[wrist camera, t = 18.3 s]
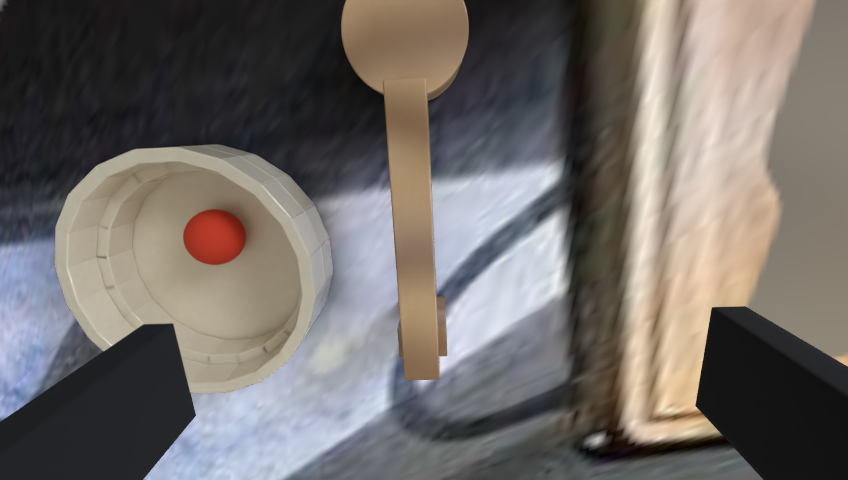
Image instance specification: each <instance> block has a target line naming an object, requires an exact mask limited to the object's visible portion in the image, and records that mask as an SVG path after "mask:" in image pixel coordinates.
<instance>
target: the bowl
mask: <svg viewBox="0 0 848 480" xmlns="http://www.w3.org/2000/svg"><path fill="white" fill-rule="evenodd" d="M211 209H218V210H223V211H227V212H229V213H231V214H233V215H234V216H236V217H237V218H238V219H239V220H240V222H241V223H242V225H243V226H244V229H245V233H246V242H245V246H244V248H243V250H242V252H241V253H240V254H239V255H238V256H237V257H236V258H235V259H233V260H232V261H230V262H228V263H225V264H220V265H209V264H205V263H202V262H199V261H198V260H196V259H195V258H193V257H192V256H191V255H190V254H189V253H188V251H187V250H186V248H185V245H184V241H183V233H184V229H185V227H186V225H187V223H188V222H189V220H190V219H191V218H192V217H193V216H195V215H196V214H198V213H200V212H202V211H206V210H211ZM55 228H56V229H55V266H56V267H55V269H56V272H57V276H58V279H59V282H60V285H61V289H62V292H63V295H64V298H65V301H66V304H67V306H68V308H69V309H70V311H71V312H72V314H73V315H74V317H75V318H76V320H77V321H78V323H79V324H80V326H81V327H82V329H83V330H84V332H85V333H86V335H87V337H88V338H89V337H90V338H89V339H90V340H91V341H92V342H93V343H95V344H96V345H97V346H98V347H99V348H100V349H101V350H102V351H103V352H104V351H105V350H107V349H108V348H109V347H111V346H112V345H114V344H115V343H117V342H118V341H120V340H121V339H123V338H124V337H126V336H127V335H129V334H130V333H131V332H133V331H134V330H136V329H137V328H139V327H140V326H142V325H143V324H167V323H173V324H174V329H175V333H176V337H177V341H178V345H179V349H180V353H181V357H182V361H183V365H184V369H185V373H186V377H187V381H188V385H189V390H190V393H227V392H231V391H234V390H237V389H240V388H243V387H246V386H250V385H253V384H256V383H259V382H261V381H263V380H264V379H266V378H267V377H268V376H270V375H271V374H272V373H274V372H275V371H276V370H278V369H279V368H280V367H282V366H283V365H284V364H286V363H287V362H288V361H289V360H290V359H291V357H292V356H293V354H294V353H295V351H296V350H297V348H298V346H299V345H300V343H301V342H302V340H303V339H304V337H305V336H306V334H307V332H308V331H309V329H310V328H311V326H312V325H313V323H314V322H315V320H316V318H317V317H318V315H319V314H320V312H321V311H322V309H323V307H324V306H325V304H326V302H327V298H328V294H329V289H330V285H331V280H332V276H333V264H332V256H331V247H330V239H329V236H328V233H327V231H326V229H325V227H324V225H323V222H322V220H321V218H320V216H319V214H318V211H317V209H316V207H315V205H314V203H313V202H312V201H311V200H310V199H309V198H308V196H307V195H306V194H305V193H304V192H303V191H302V190H301V188H300V187H299V186H298V185H297V184H296V183H295V182H294V180H293V179H292V178H291V177H290V176H289V175H288V174H286V173H284V172H283V171H281V170H280V169H278V168H276V167H275V166H273V165H272V164H270V163H269V162H267V161H265V160H264V159H262V158H261V157H259V156H257V155H255V154H252V153H248V152H245V151H241V150H237V149H234V148H230V147H227V146H223V145H218V144H214V145H194V146H176V147H160V148H144V149H134V150H131V151H129V152H126V153H124V154H122V155H119V156H117V157H115V158H112V159H110V160H108V161H105V162H103V163H101V164H98V165H97V166H96V167H94V169H93V170H92V171H91V172H90V173H89V174H88V175H87V176H86V177H85V178H84V179H83V180H82V181H81V182H80V183H79V184H78V185H77V186H76V187H75V188H74V189H73V190H72V191H71V192H70V193H69V194H68V197H67V199H66V202H65V204H64V207H63V209H62V212H61V214H60V217H59V219H58V222H57V224H56V227H55Z"/></svg>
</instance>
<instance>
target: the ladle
mask: <svg viewBox="0 0 848 480" xmlns="http://www.w3.org/2000/svg"><path fill="white" fill-rule="evenodd" d="M468 35H469V22H468V14H467V9H466V6H465V3H464V0H346V2H345V5H344V8H343V13H342V20H341V36H342V42H343V47H344V50H345V53H346V56H347V58H348V61H349V63H350V64H351V66H352V68H353V69H354V71H355V72H356V74H357V75H358V76H359V77H360V78H361V79H362V80H363V81H364V82H365V83H366V84H367V85H368V86H370V87H371V88H372V89H374V90H376V91H377V92H379V93H380V94H382V95H383V96H384V104H385V117H386V131H387V145H388V159H389V173H390V187H391V200H392V214H393V228H394V242H395V256H396V270H397V283H398V297H399V311H400V320H399V325H398V342H399V355H400V357H403V366H404V379H405V380H434V379H439V356H447V334H446V310H445V297H444V296H440V297H437V293H436V271H435V249H434V227H433V204H432V182H431V160H430V138H429V116H428V101H430V100H432V99H434V98H436V97H437V96H439V95H440V94H442V93H443V92H444V91H445V90H446V89H447V88H448V87H449V86H450V84H451V83H452V82H453V80H454V79H455V77H456V75H457V73H458V70H459V68H460V65H461V62H462V60H463V57H464V54H465V50H466V47H467V42H468Z"/></svg>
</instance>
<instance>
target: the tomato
mask: <svg viewBox="0 0 848 480" xmlns="http://www.w3.org/2000/svg"><path fill="white" fill-rule="evenodd" d="M183 241H184V245H185V248H186V250H187V251H188V253H189V254H190V255H191V256H192V257H193V258H195V259H196V260H198V261H199V262H202V263H205V264H209V265H220V264H225V263H228V262H230V261H232V260H233V259H235V258H236V257H237V256H238V255H239V254H240V253H241V252H242V250H243V248H244V246H245V242H246V233H245V229H244V226H243V225H242V223H241V222H240V220H239V219H238V218H237V217H236V216H234V215H233V214H231V213H229V212H227V211H223V210H218V209H211V210H206V211H202V212H200V213H198V214H196V215H195V216H193V217H192V218H191V219H190V220H189V222H188V223H187V225H186V227H185V229H184V233H183Z"/></svg>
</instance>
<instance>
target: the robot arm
mask: <svg viewBox="0 0 848 480" xmlns="http://www.w3.org/2000/svg"><path fill="white" fill-rule="evenodd" d="M696 407H697V408H698V409H699V410H700V411H701V412H702V413H703V414H704V415H705V417H706V418H707V419H708V420H709V421H710V422H711V423H712V424H713V425H714V426H715V427H716V428H717V430H718V431H719V432H720V433H721V434H722V435H723V436H724V437H725V438H726V439H727V440H728V442H729V443H730V444H731V445H732V446H733V447H734V448H735V449H736V450H737V451H738V452H739V453H740V455H741V456H742V457H743V458H744V459H745V460H746V461H747V462H748V463H749V464H750V465H751V466H752V468H753V469H754V470H755V471H756V472H757V473H758V474H759V475H760V476H761V477H762V478H763V480H848V367H847V366H846V365H844V364H842V363H840V362H839V361H837V360H835V359H834V358H832V357H830V356H829V355H827V354H825V353H823V352H822V351H820V350H818V349H817V348H815V347H813V346H812V345H810V344H808V343H807V342H805V341H803V340H801V339H799V338H798V337H796V336H795V335H793V334H791V333H790V332H788V331H786V330H784V329H783V328H781V327H779V326H778V325H776V324H774V323H773V322H771V321H769V320H767V319H766V318H764V317H762V316H761V315H759V314H757V313H756V312H754V311H752V310H750V309H749V308H747V307H745V306H744V307H712V310H711V316H710V322H709V328H708V334H707V340H706V346H705V352H704V358H703V364H702V370H701V376H700V382H699V388H698V394H697V400H696ZM195 416H196V414H195V410H194V406H193V402H192V398H191V394H190V390H189V385H188V381H187V377H186V373H185V369H184V365H183V361H182V357H181V353H180V349H179V345H178V341H177V337H176V333H175V329H174V324H173V323H167V324H143V325H142V326H140V327H139V328H137V329H136V330H134V331H133V332H131V333H130V334H129V335H127V336H126V337H124V338H123V339H121V340H120V341H118V342H117V343H115V344H114V345H112V346H111V347H109V348H108V349H107V350H105V351H104V352H102V353H101V354H99V355H98V356H96V357H95V358H93V359H92V360H90V361H89V362H88V363H86V364H85V365H83V366H82V367H80V368H79V369H77V370H76V371H74V372H73V373H71V374H70V375H68V376H67V377H66V378H64V379H63V380H61V381H60V382H58V383H57V384H55V385H54V386H52V387H51V388H49V389H48V390H47V391H45V392H44V393H42V394H41V395H39V396H38V397H36V398H35V399H33V400H32V401H30V402H29V403H27V404H26V405H25V406H23V407H22V408H20V409H19V410H17V411H16V412H14V413H13V414H11V415H10V416H8V417H7V418H6V419H4V420H3V421H1V422H0V480H143V479H144V478H145V477H146V475H147V474H148V473H149V472H150V470H151V469H152V468H153V467H154V466H155V464H156V463H157V462H158V461H159V460H160V458H161V457H162V456H163V455H164V454H165V452H166V451H167V450H168V449H169V447H170V446H171V445H172V444H173V443H174V441H175V440H176V439H177V438H178V437H179V435H180V434H181V433H182V432H183V431H184V429H185V428H186V427H187V426H188V424H189V423H190V422H191V421H192V420H193V418H194V417H195Z"/></svg>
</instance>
